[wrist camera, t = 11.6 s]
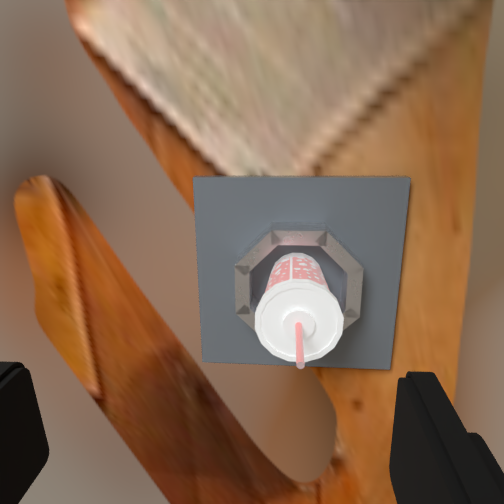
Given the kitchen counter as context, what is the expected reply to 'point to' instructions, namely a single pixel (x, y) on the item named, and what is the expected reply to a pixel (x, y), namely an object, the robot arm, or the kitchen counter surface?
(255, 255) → the steel collar
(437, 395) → the robot arm
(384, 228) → the plate
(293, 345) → the beverage cup
